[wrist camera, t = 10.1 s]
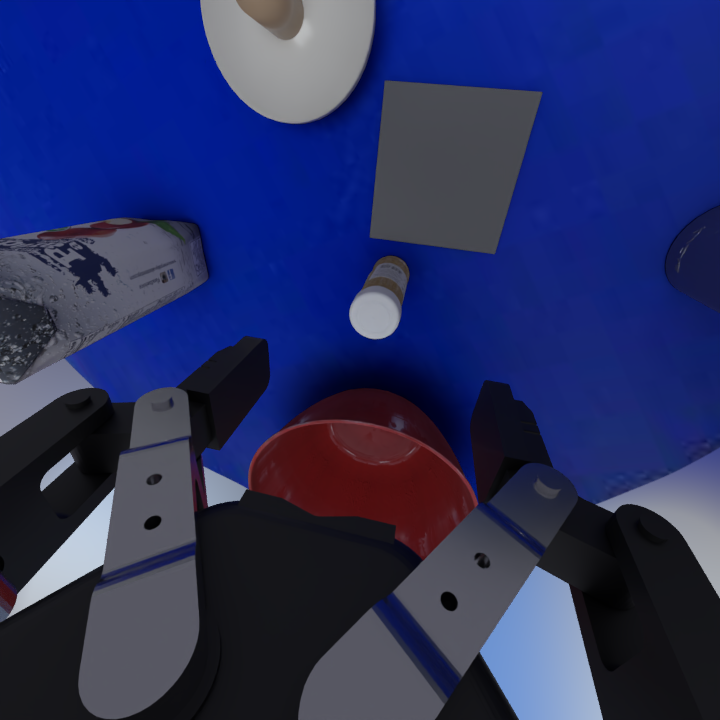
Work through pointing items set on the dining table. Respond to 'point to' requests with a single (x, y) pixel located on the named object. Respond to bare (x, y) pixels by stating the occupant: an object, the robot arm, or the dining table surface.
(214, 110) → the dining table surface
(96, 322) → the juice carton
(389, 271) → the sprinkles bottle
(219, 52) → the lid
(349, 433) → the mixing bowl
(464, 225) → the mat
